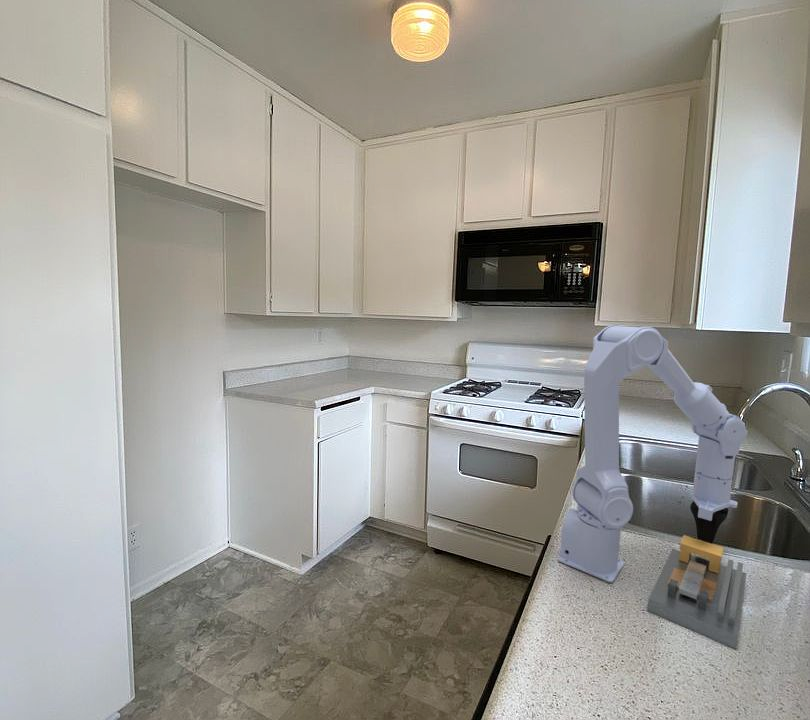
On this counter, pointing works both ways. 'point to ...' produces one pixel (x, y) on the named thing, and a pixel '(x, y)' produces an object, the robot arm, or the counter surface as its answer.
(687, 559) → the clip
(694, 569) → the strap
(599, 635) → the counter surface
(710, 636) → the grey fixture base plate
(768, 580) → the counter surface
